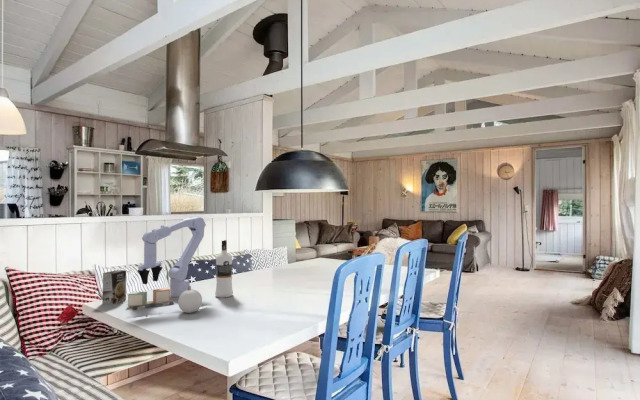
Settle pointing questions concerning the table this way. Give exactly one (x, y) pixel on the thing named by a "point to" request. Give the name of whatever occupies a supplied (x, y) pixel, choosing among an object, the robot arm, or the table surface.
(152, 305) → the tan panel metal trim
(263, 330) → the table surface
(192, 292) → the ornament
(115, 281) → the coffee box
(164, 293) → the salmon rectangular block
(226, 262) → the vodka
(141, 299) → the sage tin
